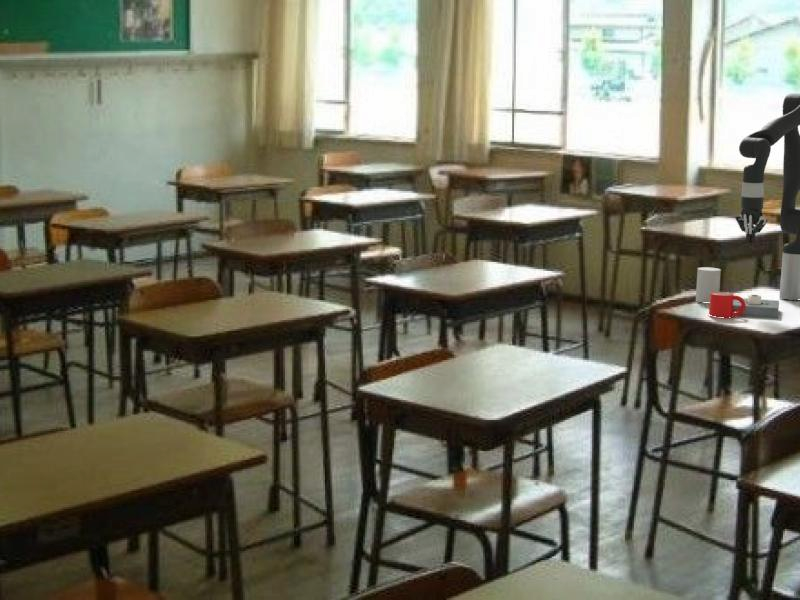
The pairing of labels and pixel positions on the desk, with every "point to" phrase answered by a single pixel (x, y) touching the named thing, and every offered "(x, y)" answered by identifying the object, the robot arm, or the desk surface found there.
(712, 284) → the cup
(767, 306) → the block
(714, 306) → the mug
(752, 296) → the bushing
